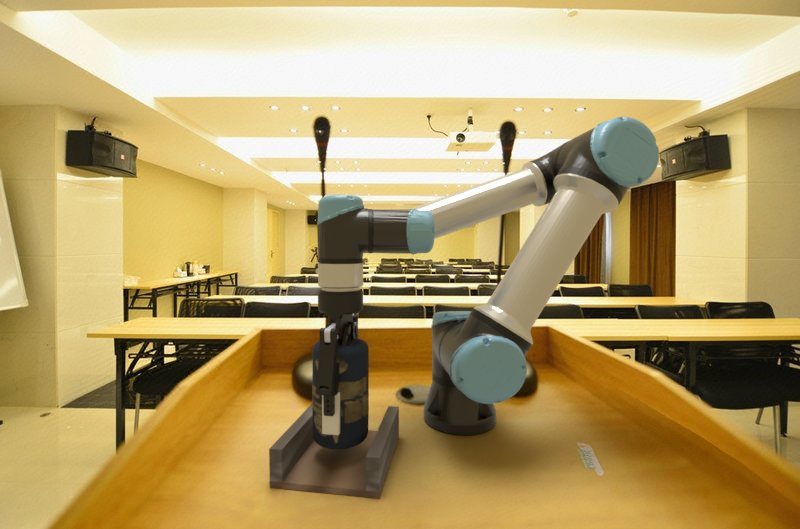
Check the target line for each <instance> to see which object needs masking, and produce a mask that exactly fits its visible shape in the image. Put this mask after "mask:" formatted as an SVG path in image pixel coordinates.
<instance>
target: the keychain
mask: <svg viewBox="0 0 800 529" xmlns="http://www.w3.org/2000/svg"><path fill="white" fill-rule="evenodd" d="M576 444H577V446H578V447H579V448H577V449H576V451H577V453H578V456H579V458H580V460H581V462H582V465H583V468H585V469H593V470H594V471H595V473H596V474H597V476H602V475H604V474H605V471H604V469H603V468H602V466H601V464H600V461H599V459H598V457H597V455H596V453H595V451H594V450H593V448H592V446H591V445H589V444H588V443H583V442H577V443H576ZM582 446H583V447H582Z"/></svg>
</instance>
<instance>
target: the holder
mask: <svg viewBox="0 0 800 529" xmlns="http://www.w3.org/2000/svg"><path fill="white" fill-rule="evenodd" d="M399 416H400V408H399V406H394V405H393V406H392V405H391V406H390V405H388V407H387V408H386V411H385V413H384V415H383V417H382V420H381V422H380V424H379V426H378V429H377V430H372V429H371V430H370V429H368V435H367V437H366V439H365V440H364V441H363V442H361V443H360V444H358V445H356V446H354V447H351V448H347V449H328V448H324V447H322V446H320V445H318V444H317V443H316V442H315V440H314V438H313V431H312V403H311V404H310V405H309V406H308V407H307V408H306V409H305V411H304V412H302V413H301V415H299V416H298V418H297V419H296V420H295V421H294V422H293V423H292V424H291V425H290V426H289V427H288V428H287V430H285V432H283V434H281V436H280V437H279V438H278V439H277V440H276V441H275V442H274V443H273V444H272V445H271V446H270V447H269V449H268V451H269V452H268V457H269V488H271V489H282V490H292V491H300V492H301V491H302V492H303V491H304V492H309V493H310V492H311V493H320V494H330V495H341V496H350V497H360V498H371V499H380V498H381V495H382V492H383V488H384V486H385V482H386V481H387V480H386V479H387V475H388V473H389V470H390V467H391V465H392V461H393V458H394V454H395V451H396V448H397V445H398V442H399V439H400V433H399V432H400V431H399V430H400V417H399Z"/></svg>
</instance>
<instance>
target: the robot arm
mask: <svg viewBox="0 0 800 529" xmlns="http://www.w3.org/2000/svg"><path fill="white" fill-rule="evenodd" d="M655 136H656V135H654V132H653V131H652V130H651V129H650V128H649V127H648V126H647V125H646V124H645V123H643V122H642V121H641V120H638V119H636V118H634V117H630V116H619V117H614V118H611V119H609V120H605V121H602V122H600V123H598V124H597V125H596V126H595V127H593V128H590V130H587V131H586V132H583V133H581V134H579V135H577V136H576V137H574V138H572V139H570V140H568V141H566V142H564V143H562V144H561V145H559V146H557V147H556V148H554V149H552V150H551V151H549V152H548V153H546V154H544V155H542V156H540V157H538V158H536V159H533V160H530V161H527V162H525V163H524V164H522V167H521V169H520V170H516V171H514V172H510V173H507V174H505V175H503V176H500V177H496V178H494V179H491V180H488V181H485V182H483V183H479V184H477V185H474V186H472V187H468V188H466V189H462V190H460V191H457V192H453V193H451V194H449V195H446V196H444V197H443V196H442V197H441V198H438V199H434V200H432V201H429V202H426V203H423V204H420V205H417V206H414V207H412V208H409V209H408V208H407V209H405V208H403V209H399V208H398V209H397V208H396V209H392V208H391V209H381V208H380V209H378V208H377V209H374V208H365V205H364V200H363V198H361V197H360V196H358V195H357V196H356V195H350V194H349V195H347V194H331V195H329V194H328V195H326V196H322V197H321V198H320V199H319V201H318V204H317V207H318V208H317V223H316V226H317V227H316V229H317V230H316V231H317V233H316V234H317V236H316V237H317V258H318V259H317V267H318V268H316V270H315V273H316V275H317V280H318V282H317V284H318V286H319V288H321V289H319V290H318V292H317V310H318V312H319V313H321V314H325V315H327V316H328V317H327V322H326V323H327V324H325V327H321V328H319V332H318V333H319V341H320V350H319V362H318V374H317V386H316V394H317V395H322V434H330V435H339V434H340V392H338V386H339V377H340V375H339V370H340V362H338V363H336V359H337V347H343V348H345V347H346V346H347V342H348V341H349V339H351V340H354V339H355V338H358V339H360V338H359V315H358V313H360V312H362V311H363V309H364V291H363V290H362V289H361V287H363V286H364V259H363V258H364V257H363V256H364V254H392V255H393V254H395V255H396V254H398V255H400V254H402V255H403V254H404V255H405V254H406V255H407V254H408V255H410V254H411V255H417V254H427V253H430V252H431V251H432V250H433V248H434V244H435V240H436V239H438V238H441V237H444V236H446V235H450V234H452V233H455V232H458V231H460V230H463V229H467V228H469V227H472V226H475V225H478V224H480V223H483V222H486V221H488V220H491V219H494V218H497V217H500V216H503V215H505V214H508V213H511V212H514V211H517V210H519V209H522V208H525V207H528V206H530V205H533V206H535V207H542V206H545V205H547V204H548V205H547V206H546V208H545V209H544V211H543V212H542V214H541V216H540V217H539V219H538V220H537V222H536V224H535V225H534V226H533V229H532V230H531V232H529V235H528V236H527V238H526V239H525V242H524V243H523V244H522V246H521V248H520V249H519V251H518V252H517V254H516V256H515V257H514V259H513V261H512V262H511V263H510V266H509V267H508V268H507V270H506V271H505V274H504V275H503V277H502V278H501V280H500V281H499V282H498V284H497V286H496V288H495V289H494V291H493V293H492V294H491V296H490V297H489V298H488V300H487V302H486V303H484V304H480V305H477V306H474V307H473V308H472V309H471V310H456V311H455V310H448V311H447V310H445V311H437V312H435V313H434V314H433V315H432V324H431V331H432V332H431V334H432V335H431V347H432V348H431V352H432V353H431V355H432V356H431V360H432V361H431V366H432V367H431V372H432V374H431V384H430V387H429V390H428V393H427V396H426V399H425V402H424V406H423V420H424V421H425V423H426V424H427V425H428V426H430V427H431V428H432V429H434V430H437V431H440V432H442V433H446V434H452V435H457V436H458V435H459V436H472V435H479V434H484V433H485V432H488V431H491V430H492V429H493V428H494V427H495V426H496V423H497V410H496V407H495V404H499V403H503V402H505V401H508V400H509V399H511V398H513V397H514V396H515V395H517V393H518V392H519V391H520V390H521V389H522V387H523V385H524V383H525V381H526V378H527V373H528V368H527V361H526V356H527V354H528V352H529V350H531V347H532V346H533V344H534V340H533V337H532V333H531V330H532V327H534V324H535V323H536V321H537V320H538V318H539V316H540V315H541V313H542V311H544V308H545V306H547V304H548V301H550V299H551V297H552V296H553V294H554V292H555V290H557V287H558V286H559V285H560V282H561V281H562V279H563V278H564V276H565V275H566V274H567V271H568V270H569V269H570V266H571V265H572V264H573V262H574V260H575V259H576V256H578V253H579V252H580V250H581V248H582V247H583V246H584V244H585V242H586V241H587V239H588V238H589V236H590V234H591V232H592V231H593V229H594V228H595V226H596V224H597V223H598V221H599V220H600V218H601V216H602V215H603V214H608V213H612V212H614V211H616V210H617V209H618V207H619V205H620V203H621V202H622V200H623V199H624V197H625V196H626V194H627V193H628V191H629V189H630V188H632V187H637V186H640V185H641V184H643V183H644V182H646V181H648V180H649V179H650V178H651V177H652V176H653V174H654V173H655V171H656V170H657V167H658V165H659V158H660V150H659V147H658V145H657V139H656V137H655ZM337 343H338V344H339V345H337ZM327 386H328V387H327Z"/></svg>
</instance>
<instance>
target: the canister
mask: <svg viewBox="0 0 800 529" xmlns="http://www.w3.org/2000/svg"><path fill="white" fill-rule="evenodd" d="M337 345H339V344H338V343H337ZM319 350H320V340H318V341H317V342H316V343H315V344H314V345H313V348H312V363H311V364H312V373H311V374H312V381H311V382H312V384H311V387H312V388H311V389H312V390H311V392H312V393H311V404H312V431H313V438H314V440H315V442H316V443H317V444H318V445H320V446H322V447H324V448H328V449H347V448H351V447H354V446H356V445H358V444H360V443H361V442H363V441H364V440H365V439H366V437H367V435H368V430H369V419H370V418H369V414H370V413H369V412H370V411H369V409H370V407H369V406H370V405H369V402H370V401H369V398H370V394H369V393H370V392H369V383H370V382H369V375H370V374H369V373H370V371H369V367H370V366H369V365H370V364H369V361H370V360H369V359H370V358H369V355H370V354H369V344H368V343H367V341H365V340H363V339H361V338H359V339H358V338H355V339H354V340H351V339H349V341H348V342H347V346H346V347H345V348H343V347H337V359H336V363H338V362H340V370H339V375H340V377H339V386H338V392H340V434H339V435H330V434H322V395H317V394H316V386H317V374H318V362H319ZM327 387H328V386H327Z"/></svg>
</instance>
